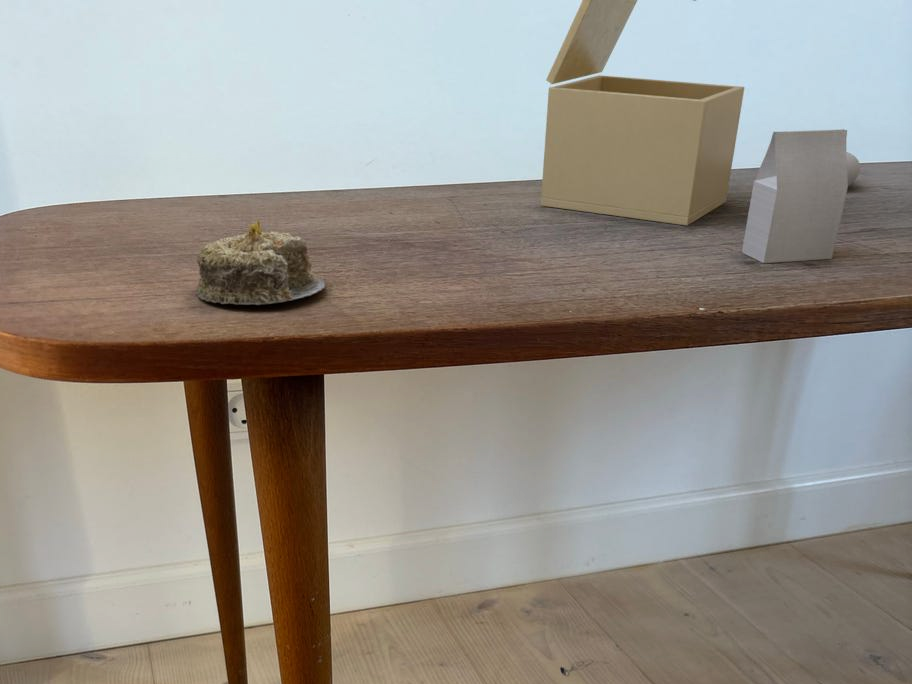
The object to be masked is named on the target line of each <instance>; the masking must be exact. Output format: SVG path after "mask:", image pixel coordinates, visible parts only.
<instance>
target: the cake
mask: <svg viewBox="0 0 912 684" xmlns="http://www.w3.org/2000/svg"><path fill="white" fill-rule="evenodd" d="M260 224H261V223H260V221H259V220H255V221H254V223H252V224H251V225H250V227H248V232H247V233H243V234H239V235H234V236H232V237H230V236H227V237H224V238H223V239H222V238H219V239H217V240H215V241H213V242H210V243H207V244H206V245H204V246H202V248H201V250H200V251H199V252H198V253H197V256H196V257H197V258H196V262H197V265H198V267H199V272H198V274H199V275H200V277H199V278H198V284H197V288H196V290H195V296H197V298H199V299H200V300H204V301H205V302H206V303H207V302H211V303H214V304H216V303H217V304H218V303H219V304H220V305H228V304H229V305H237V306H239V305H240V306H242V305H245V306H249V305H250V306H251V305H254V306H260V305H273V304H279V303H285V302H291V301H295V300H299V299H304V298H305V297H306V298H307V297H310V296H312V295H315V294H318V292H321V291H322V290H323V289H325V286H326V283H325V281H324V280H323V279H321V278H318V277H317V276H316V274H315V273H314V271H312V266H313V265H314V263H313V262H312V261H311V260H310V255H308V254H309V251H308V245H307V241H306V240H305V239H302V237H300V236H298V235H295V236H292V234H291V232H282V233H280V232H279V231H273V230H272V231H270V232H268V231H267V232H263V230H261V225H260Z"/></svg>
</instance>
